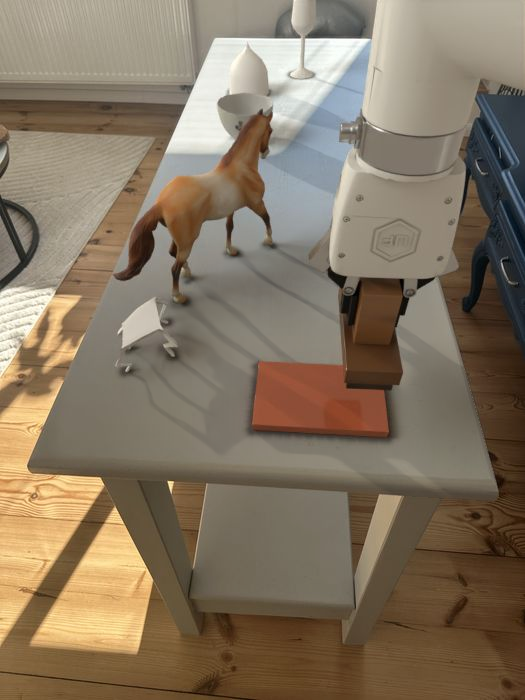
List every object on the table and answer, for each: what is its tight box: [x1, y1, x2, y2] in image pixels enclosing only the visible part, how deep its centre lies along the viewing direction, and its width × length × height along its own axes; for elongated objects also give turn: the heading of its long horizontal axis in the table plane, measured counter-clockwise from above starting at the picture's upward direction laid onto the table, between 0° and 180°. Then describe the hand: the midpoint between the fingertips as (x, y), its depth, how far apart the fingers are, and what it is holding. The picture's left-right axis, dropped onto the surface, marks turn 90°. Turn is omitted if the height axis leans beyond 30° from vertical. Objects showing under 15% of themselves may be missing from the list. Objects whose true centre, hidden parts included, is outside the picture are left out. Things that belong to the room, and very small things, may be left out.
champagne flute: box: [289, 0, 317, 80], centre depth 131 cm, size 7×7×24 cm
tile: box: [251, 360, 390, 438], centre depth 60 cm, size 16×10×1 cm, turn 86°
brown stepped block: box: [337, 277, 404, 391], centre depth 49 cm, size 13×5×10 cm, turn 177°
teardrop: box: [228, 41, 270, 97], centre depth 127 cm, size 11×11×12 cm
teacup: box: [216, 92, 274, 142], centre depth 110 cm, size 15×12×8 cm
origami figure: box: [114, 296, 179, 373], centre depth 66 cm, size 12×8×5 cm
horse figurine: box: [111, 109, 274, 305], centre depth 71 cm, size 31×8×21 cm, turn 134°
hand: (370, 315), depth 50 cm, fingers closed on brown stepped block, 3 cm apart
